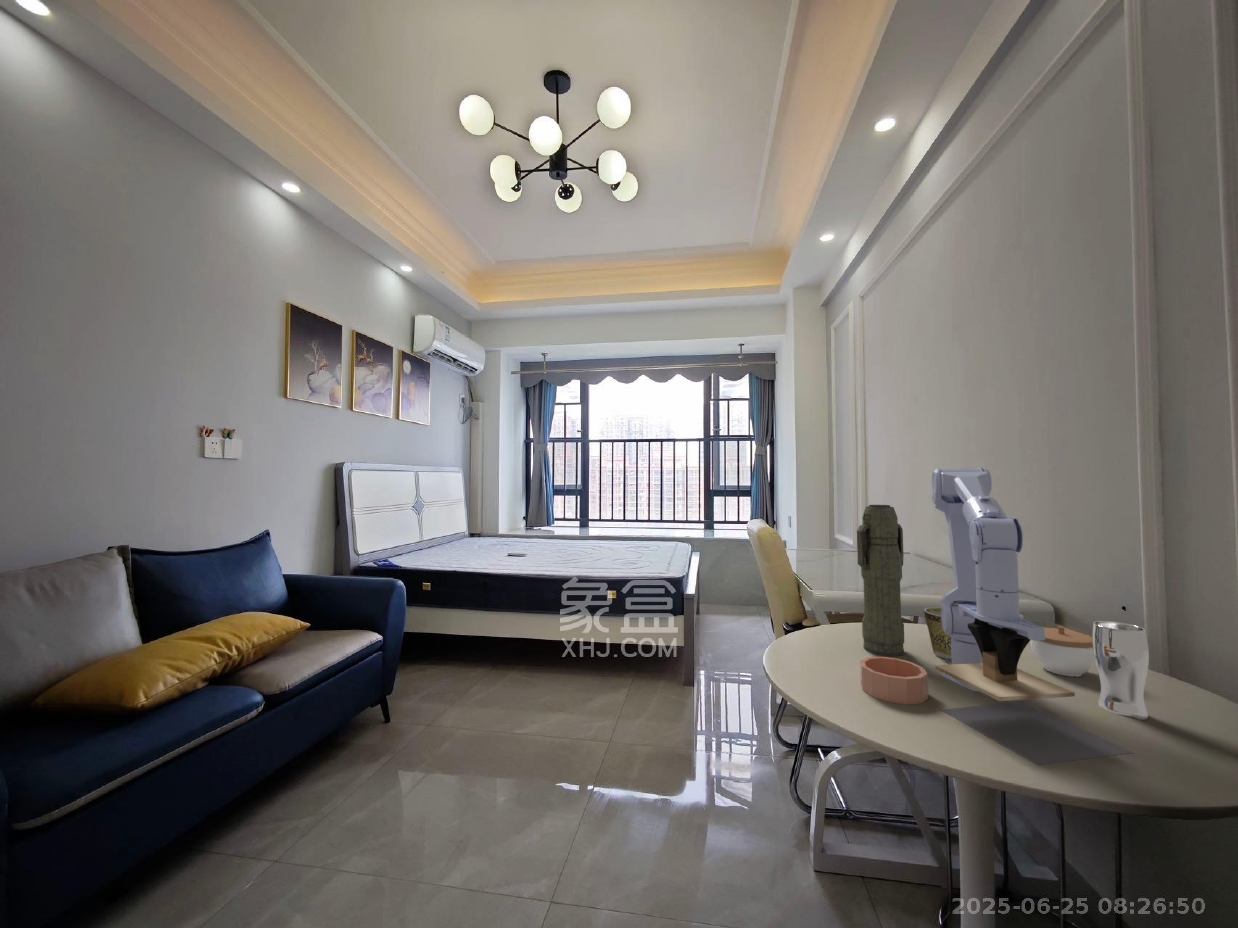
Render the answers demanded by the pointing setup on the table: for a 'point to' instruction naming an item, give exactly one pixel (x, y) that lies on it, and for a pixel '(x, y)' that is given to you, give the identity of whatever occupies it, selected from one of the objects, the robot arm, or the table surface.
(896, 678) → the bowl
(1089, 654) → the lidded jar
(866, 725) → the table surface
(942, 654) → the ceramic cup
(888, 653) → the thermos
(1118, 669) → the silver metal tumbler
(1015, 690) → the lid
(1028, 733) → the mat
